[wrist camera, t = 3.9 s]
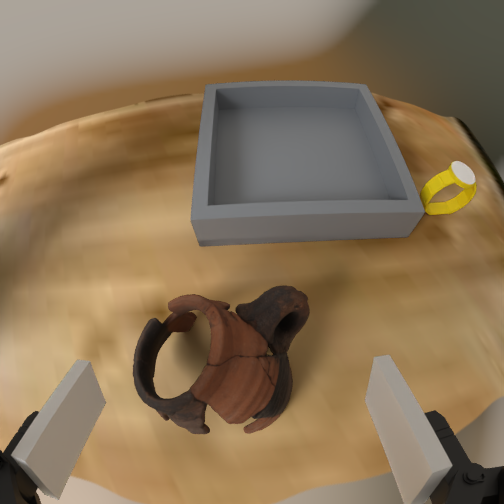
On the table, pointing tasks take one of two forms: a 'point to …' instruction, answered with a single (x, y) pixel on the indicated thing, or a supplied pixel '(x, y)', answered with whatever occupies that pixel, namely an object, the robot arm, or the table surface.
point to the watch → (454, 174)
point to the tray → (298, 166)
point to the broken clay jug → (228, 359)
